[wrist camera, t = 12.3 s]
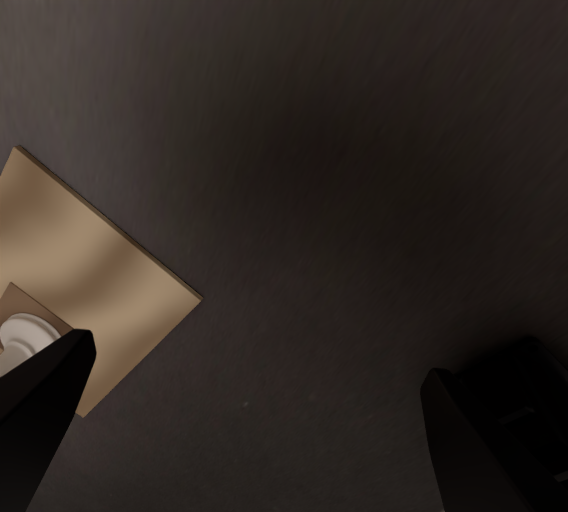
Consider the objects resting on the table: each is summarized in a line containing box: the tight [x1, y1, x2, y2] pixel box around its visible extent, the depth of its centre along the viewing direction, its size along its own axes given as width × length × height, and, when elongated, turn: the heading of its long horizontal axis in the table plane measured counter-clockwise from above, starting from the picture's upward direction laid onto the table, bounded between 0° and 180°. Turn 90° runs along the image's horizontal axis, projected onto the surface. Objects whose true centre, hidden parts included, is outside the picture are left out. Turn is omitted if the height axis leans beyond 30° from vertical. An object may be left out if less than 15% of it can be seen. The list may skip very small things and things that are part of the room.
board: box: [0, 146, 203, 417], centre depth 26 cm, size 14×18×1 cm
